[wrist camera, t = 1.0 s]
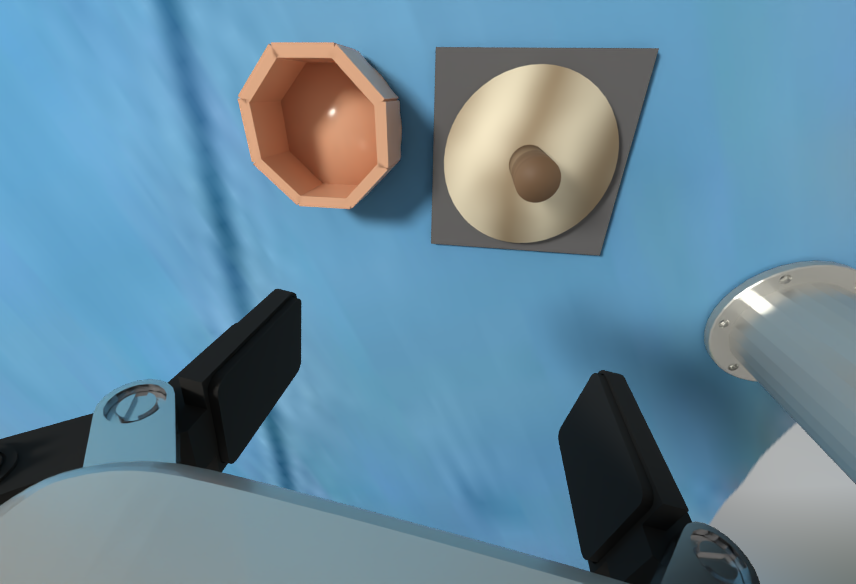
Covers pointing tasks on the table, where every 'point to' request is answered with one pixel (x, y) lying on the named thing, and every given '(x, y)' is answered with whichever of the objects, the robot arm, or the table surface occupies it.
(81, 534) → the robot arm
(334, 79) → the bowl
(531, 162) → the lid
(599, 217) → the mat
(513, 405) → the table surface
